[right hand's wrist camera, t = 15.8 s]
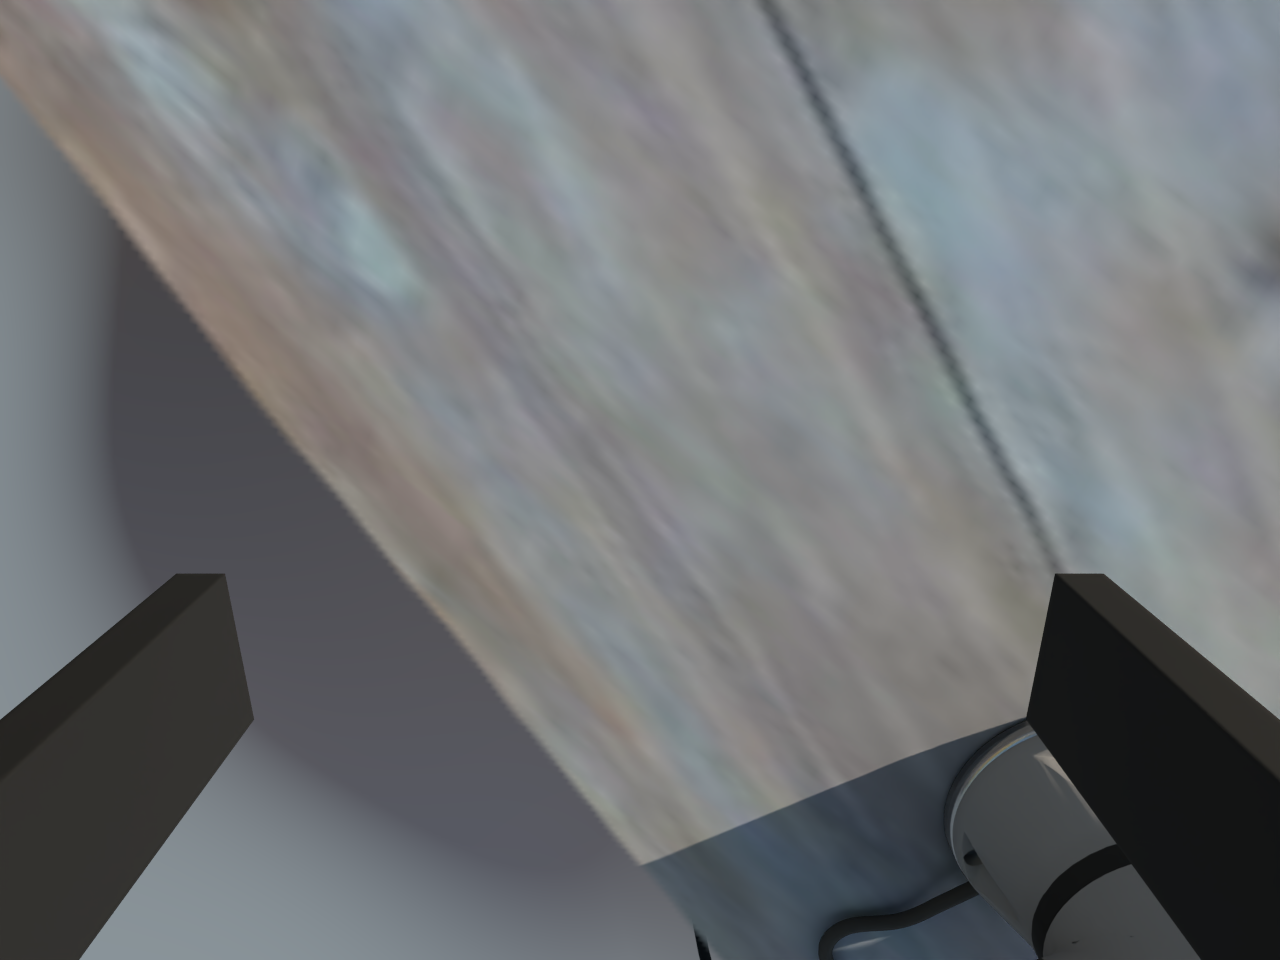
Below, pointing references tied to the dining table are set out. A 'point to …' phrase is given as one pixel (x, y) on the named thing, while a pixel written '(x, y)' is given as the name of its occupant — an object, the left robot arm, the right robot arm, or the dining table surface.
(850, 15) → the dining table surface
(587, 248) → the dining table surface
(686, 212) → the dining table surface
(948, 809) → the right robot arm
